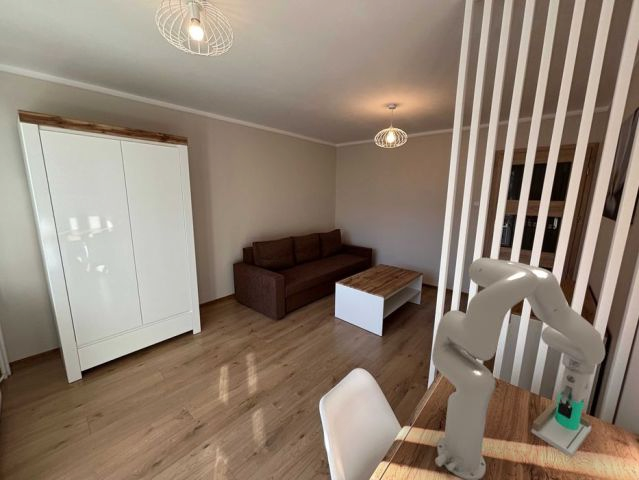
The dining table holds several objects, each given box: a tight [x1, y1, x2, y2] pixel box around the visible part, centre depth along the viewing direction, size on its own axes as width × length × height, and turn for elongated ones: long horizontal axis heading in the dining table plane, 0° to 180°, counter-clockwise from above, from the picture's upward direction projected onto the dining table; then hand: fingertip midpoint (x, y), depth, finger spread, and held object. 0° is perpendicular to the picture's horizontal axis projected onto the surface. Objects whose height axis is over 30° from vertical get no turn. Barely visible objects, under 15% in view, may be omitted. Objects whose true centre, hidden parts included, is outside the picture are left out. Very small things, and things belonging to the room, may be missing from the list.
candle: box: [555, 392, 585, 430], centre depth 89 cm, size 6×6×12 cm
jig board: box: [531, 400, 592, 458], centre depth 87 cm, size 18×10×4 cm, turn 122°
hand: (569, 409), depth 89 cm, fingers open, 9 cm apart
